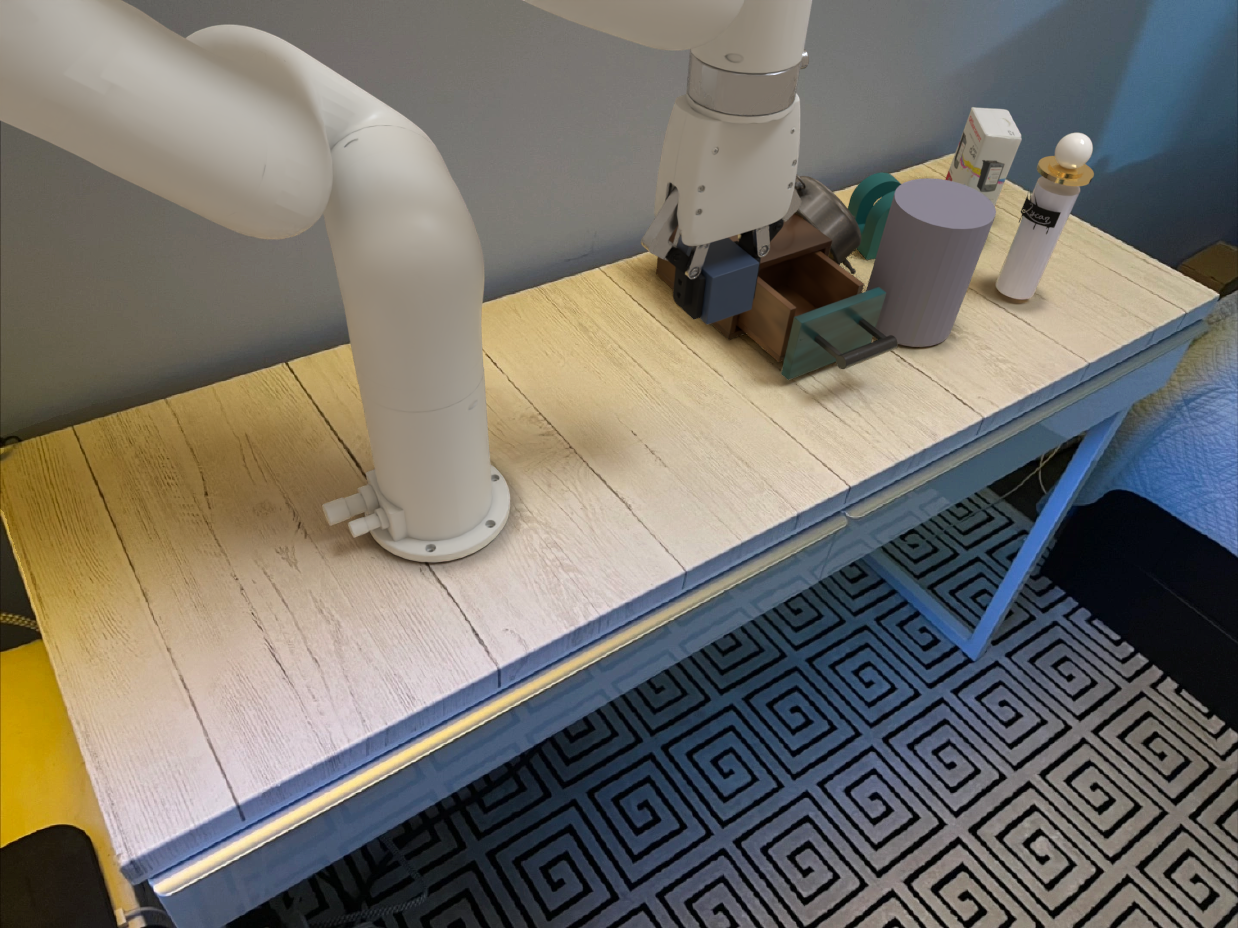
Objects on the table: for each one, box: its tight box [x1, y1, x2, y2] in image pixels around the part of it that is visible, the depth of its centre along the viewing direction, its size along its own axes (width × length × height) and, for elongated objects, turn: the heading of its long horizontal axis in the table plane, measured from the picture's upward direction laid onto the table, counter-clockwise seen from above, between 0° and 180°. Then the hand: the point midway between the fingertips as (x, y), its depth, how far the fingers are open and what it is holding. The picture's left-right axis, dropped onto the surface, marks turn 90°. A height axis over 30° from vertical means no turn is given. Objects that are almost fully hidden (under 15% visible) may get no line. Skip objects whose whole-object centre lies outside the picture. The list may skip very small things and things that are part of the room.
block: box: [687, 238, 759, 326], centre depth 74 cm, size 4×4×4 cm
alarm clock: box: [794, 173, 861, 275], centre depth 106 cm, size 11×5×16 cm
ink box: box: [944, 106, 1022, 207], centre depth 121 cm, size 9×5×12 cm, turn 177°
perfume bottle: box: [994, 132, 1095, 300], centre depth 103 cm, size 6×6×20 cm
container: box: [865, 177, 997, 348], centre depth 100 cm, size 10×10×15 cm
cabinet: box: [655, 213, 832, 341], centre depth 104 cm, size 15×13×9 cm
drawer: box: [736, 250, 899, 381], centre depth 97 cm, size 18×11×7 cm, turn 32°
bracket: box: [847, 171, 902, 261], centre depth 116 cm, size 18×7×8 cm, turn 107°
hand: (714, 299), depth 75 cm, fingers closed on block, 4 cm apart
